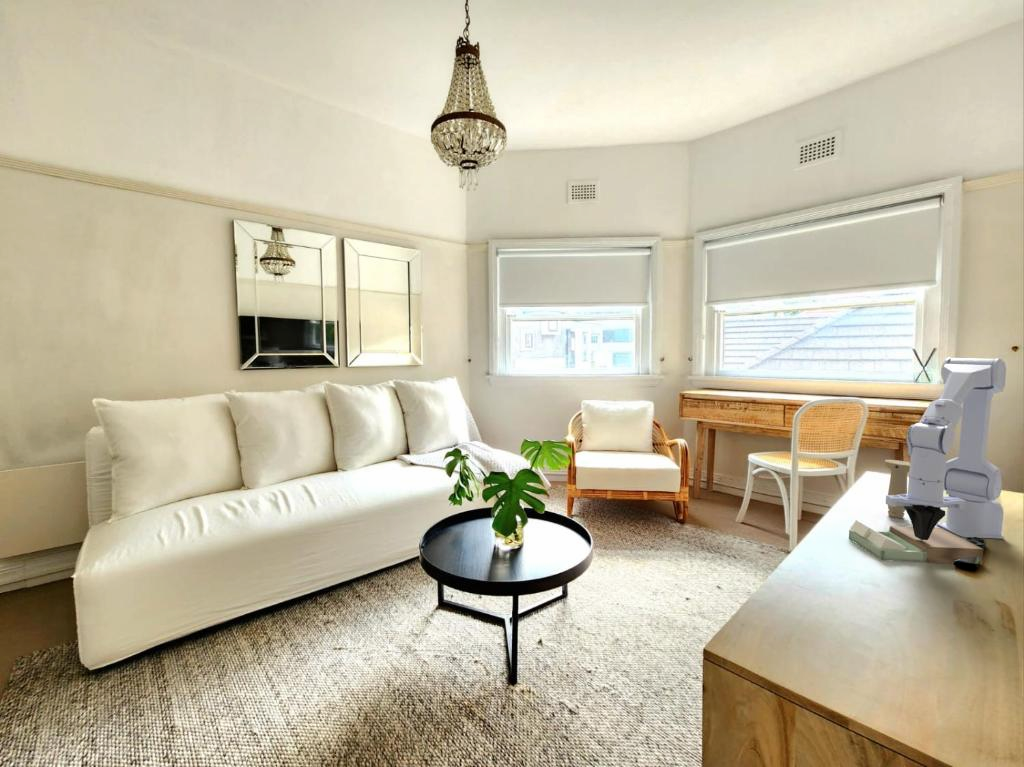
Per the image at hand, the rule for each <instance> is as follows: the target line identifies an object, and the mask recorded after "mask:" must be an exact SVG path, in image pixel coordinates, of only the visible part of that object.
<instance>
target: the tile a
mask: <svg viewBox="0 0 1024 767" xmlns="http://www.w3.org/2000/svg"><path fill="white" fill-rule="evenodd" d="M849 530H853V531H854V532H856V533H857V534H859V535H861V536H862V537H864V538H866V539H867V538H868V537H869V535H870V533H871V532H872V530H873V528H870V527H868V526H867V525H866V524H863V523H862V522H861V521H858V520H855V521H854V523H853V524H852V525H851V526H850V529H849Z"/></svg>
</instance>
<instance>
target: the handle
mask: <svg viewBox="0 0 1024 767" xmlns="http://www.w3.org/2000/svg"><path fill="white" fill-rule="evenodd" d="M883 465H884V467H886V468H888V469H889V470H890V477H889V485H888V492H887V495H901V494H908V475H909V470H910V461H904V460H897V459H885V460H884V462H883ZM887 507H888V508H887V509H888V510H887V513H888V516H890V517H893V518H895V519H896V518H897V519H902V518H904V517H905V511H906V510H905V508H904V506H897V507H891V506H889V505H887Z"/></svg>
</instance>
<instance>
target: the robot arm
mask: <svg viewBox="0 0 1024 767" xmlns="http://www.w3.org/2000/svg"><path fill="white" fill-rule="evenodd" d="M1006 365H1007V364H1006V362H1005V361H1004V360H1003V359H1002V358H1000V357H997V358H977V357H976V358H974V357H973V358H972V357H969V358H967V357H953V356H952V357H951V356H950V357H947V358H946V359H945V360H944V361H943V362H942V365H941V369H940V376H941V379H942V381H943V384H944V385H943V386H944V387H943V389H942V392H941V394H940V397H939V398H938V399H934V400H932V401H931V402H930V403H929V404H928V406H927V408H926V410H924V413H923V415H922V416H921V418H920V419H919V421H918V422H917V423H915V424H911V425H910V426H909V427H908V430H907V434H906V444H907V453H908V456H909V457H910V461H909V462H910V470H909V472H908V482H907V494H901V495H888V494H886V495H885V505H887V506H888V505H889V506H891V507H897V506H904V508H905V511H906V513H907V515H908V517H909V519H910V523H911V525H912V526H911V527H913V530H914V535H915V537H917V538H919V539H921V540H928V539H929V537H930V535H931V533H932V531H933V529H934V528H936V526H938V527H940V528H942V529H944V530H946V531H948V532H950V533H952V534H953V533H954V535H956V536H958V537H960V538H962V537H963V538H974V537H977V538H980V539H1005V536H1004V535H1002V532H1003V521H1004V509H1003V507H1002V504H1001V503H1000V502H999V501H998V498H999V497H1000V496H1001V493H1002V486H1003V481H1002V472H1001V469H1000V468H999V467H998V466H996V465H994V464H993V463H991V462H990V461H989V460H987V459H986V457H987V448H988V437H989V425H990V418H991V408H992V399H993V398H994V395H995V394H998V393H1002V392H1003V391H1004V389H1005V386H1006V376H1007V366H1006ZM960 420H961V423H960V434H959V443H958V444H959V445H958V453H957V454H958V455H957V457H954V458H951V459H949V460H947V456H948V453H949V452H950V451H951V449H952V447H953V444H954V440H955V436H956V431H955V429H956V427H957V425H958V424H959V421H960ZM944 491H945V494H946V495H948V496H944ZM941 508H947V511H945V510H944V509H941ZM945 516H946V520H945V521H946V522H940V521H941V520H942V519H943V518H944V517H945Z"/></svg>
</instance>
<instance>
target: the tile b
mask: <svg viewBox="0 0 1024 767" xmlns="http://www.w3.org/2000/svg"><path fill="white" fill-rule="evenodd" d="M876 531H877V530H874V529H872V532H871V533H870V535H869V537H868V538H867V540H869V541H870V542H872V543H873V544H875V545H876V546H878V547H879V548H881V549H883V550H905V549H906V547H904V546H903V545H901V544H900V543H898V542H896V541H895V540H893V539H891V538H889V537H887V536H885V535H883V534H880V533H878V532H876Z"/></svg>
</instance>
